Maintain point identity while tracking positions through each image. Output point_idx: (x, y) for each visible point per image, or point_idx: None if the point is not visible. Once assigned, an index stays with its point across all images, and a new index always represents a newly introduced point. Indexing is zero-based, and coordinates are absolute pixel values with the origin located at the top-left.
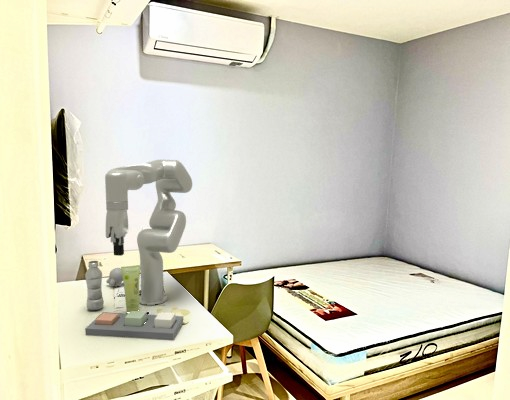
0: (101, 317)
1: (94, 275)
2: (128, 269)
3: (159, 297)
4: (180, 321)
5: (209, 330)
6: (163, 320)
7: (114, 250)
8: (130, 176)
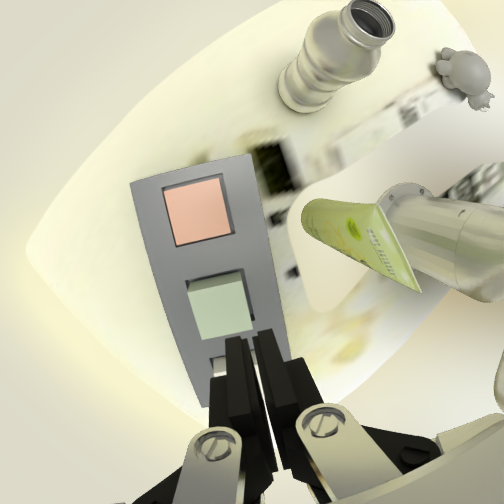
0: (185, 197)
1: (322, 59)
2: (384, 240)
3: None
4: None
5: (271, 431)
6: None
7: (229, 373)
8: None
